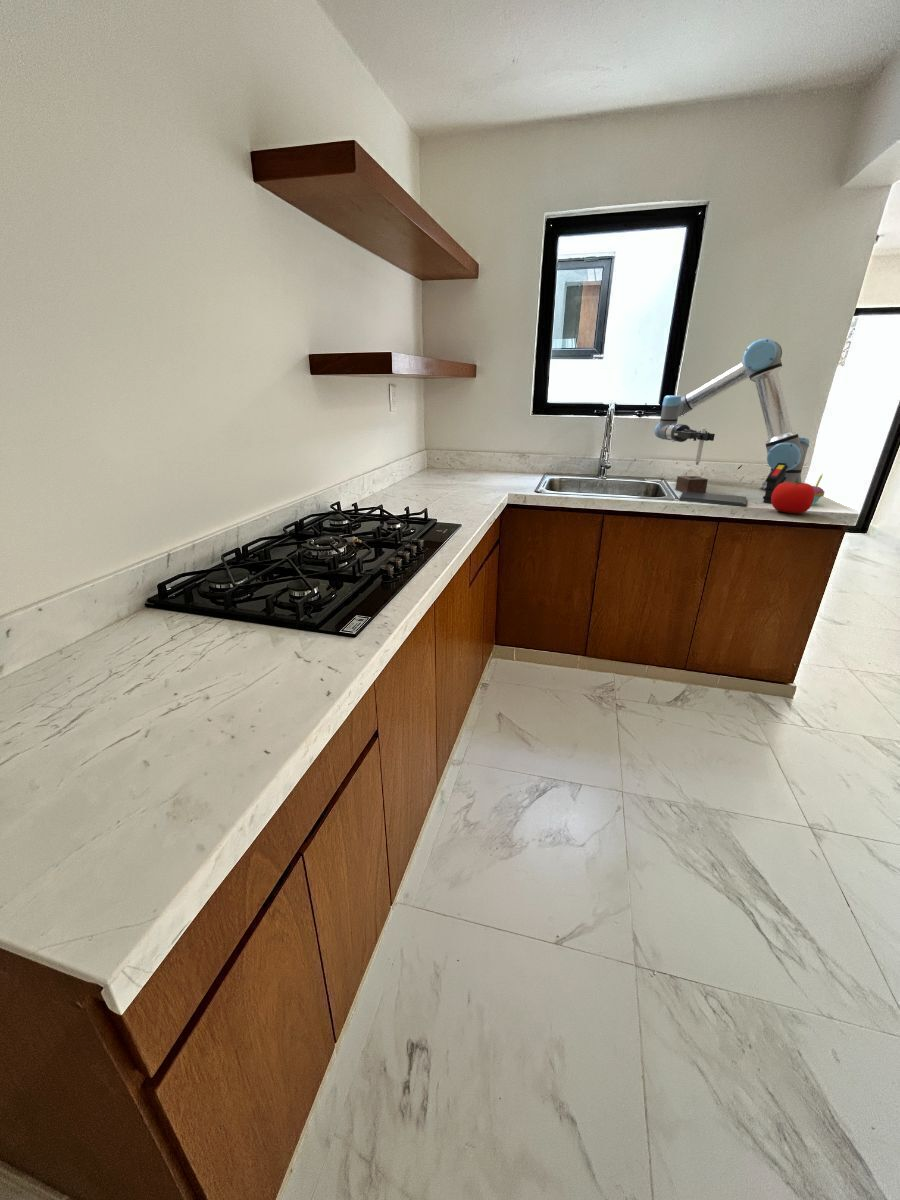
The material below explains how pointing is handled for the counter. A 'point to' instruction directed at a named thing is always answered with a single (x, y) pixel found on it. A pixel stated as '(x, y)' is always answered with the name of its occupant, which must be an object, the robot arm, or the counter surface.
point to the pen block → (691, 484)
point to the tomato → (792, 497)
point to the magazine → (775, 480)
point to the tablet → (713, 498)
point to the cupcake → (817, 492)
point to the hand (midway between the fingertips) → (710, 437)
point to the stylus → (700, 448)
